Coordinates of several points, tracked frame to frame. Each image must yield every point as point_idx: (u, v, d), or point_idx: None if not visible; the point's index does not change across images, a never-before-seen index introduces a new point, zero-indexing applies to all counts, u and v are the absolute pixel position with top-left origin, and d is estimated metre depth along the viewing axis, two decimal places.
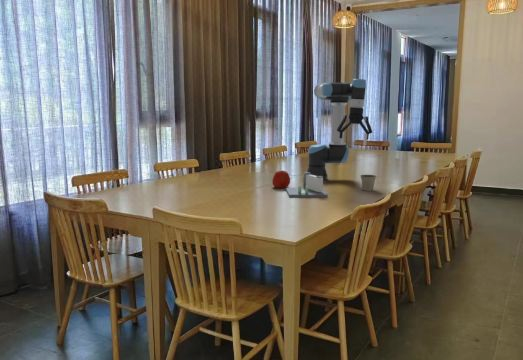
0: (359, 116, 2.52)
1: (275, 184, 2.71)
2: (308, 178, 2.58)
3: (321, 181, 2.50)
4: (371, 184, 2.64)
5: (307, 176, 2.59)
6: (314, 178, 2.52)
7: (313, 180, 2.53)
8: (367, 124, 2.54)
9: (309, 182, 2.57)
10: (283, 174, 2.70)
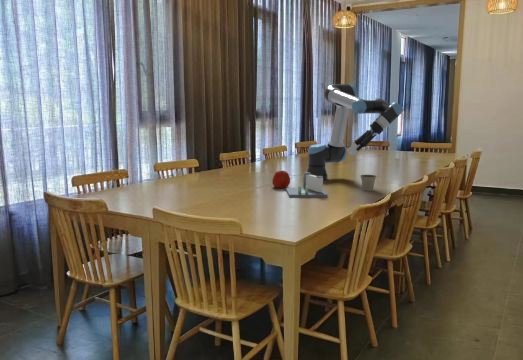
0: None
1: (275, 184, 2.71)
2: (308, 178, 2.58)
3: (321, 181, 2.50)
4: (371, 184, 2.64)
5: (307, 176, 2.59)
6: (314, 178, 2.52)
7: (313, 180, 2.53)
8: None
9: (309, 182, 2.57)
10: (283, 174, 2.70)
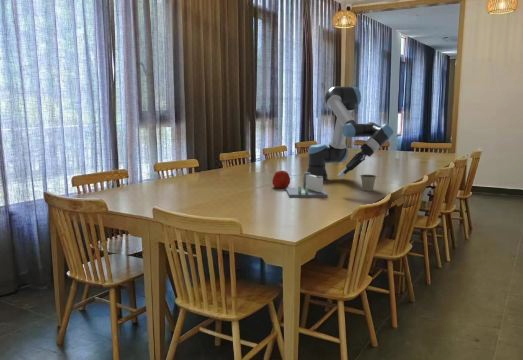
0: None
1: (275, 184, 2.71)
2: (308, 178, 2.58)
3: (321, 181, 2.50)
4: (371, 184, 2.64)
5: (307, 176, 2.59)
6: (314, 178, 2.52)
7: (313, 180, 2.53)
8: None
9: (309, 182, 2.57)
10: (283, 174, 2.70)
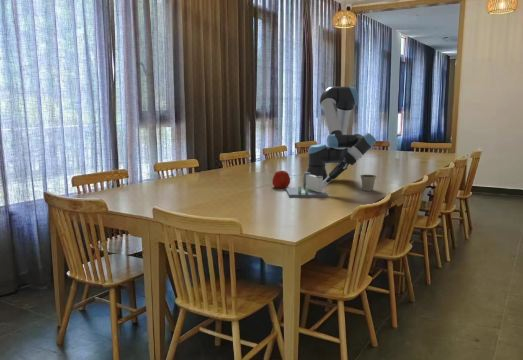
0: None
1: (275, 184, 2.71)
2: (308, 178, 2.58)
3: (321, 181, 2.50)
4: (371, 184, 2.64)
5: (307, 176, 2.59)
6: (314, 178, 2.52)
7: (313, 180, 2.53)
8: None
9: (309, 182, 2.57)
10: (283, 174, 2.70)
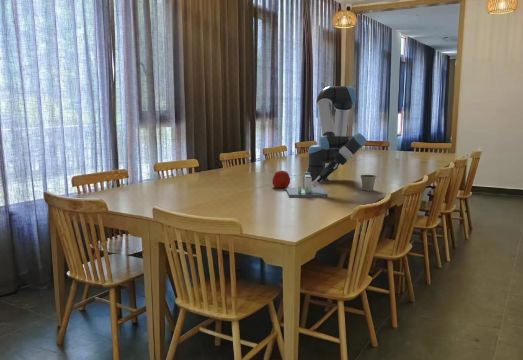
0: None
1: (275, 184, 2.71)
2: None
3: (310, 181, 2.48)
4: (371, 184, 2.64)
5: (304, 176, 2.59)
6: (305, 178, 2.52)
7: (305, 180, 2.53)
8: None
9: None
10: (283, 174, 2.70)
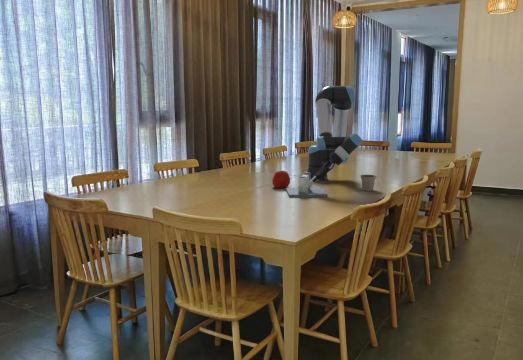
0: None
1: (275, 184, 2.71)
2: None
3: (303, 181, 2.49)
4: (371, 184, 2.64)
5: None
6: None
7: None
8: None
9: None
10: (283, 174, 2.70)
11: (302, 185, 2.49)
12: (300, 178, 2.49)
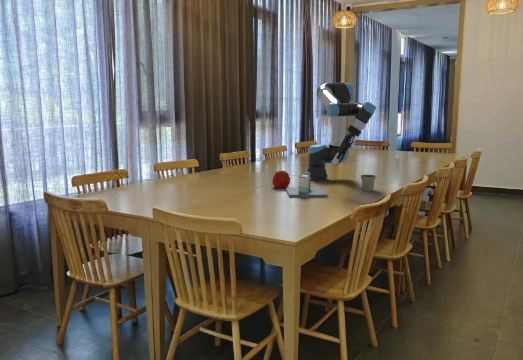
0: None
1: (275, 184, 2.71)
2: None
3: (303, 181, 2.49)
4: (371, 184, 2.64)
5: None
6: None
7: None
8: None
9: None
10: (283, 174, 2.70)
11: (302, 185, 2.49)
12: (300, 178, 2.49)
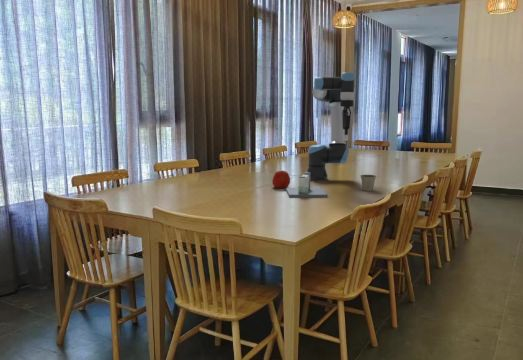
0: None
1: (275, 184, 2.71)
2: None
3: (303, 181, 2.49)
4: (371, 184, 2.64)
5: None
6: None
7: None
8: None
9: None
10: (283, 174, 2.70)
11: (302, 185, 2.49)
12: (300, 178, 2.49)
